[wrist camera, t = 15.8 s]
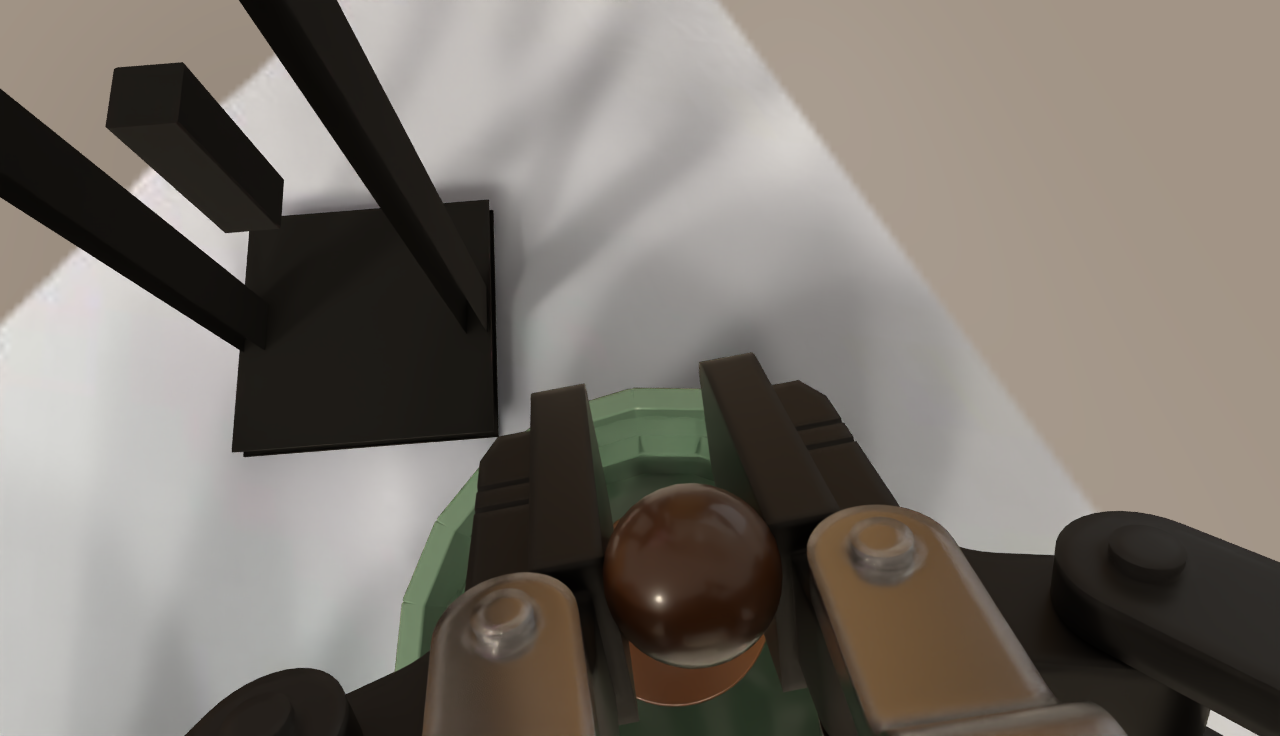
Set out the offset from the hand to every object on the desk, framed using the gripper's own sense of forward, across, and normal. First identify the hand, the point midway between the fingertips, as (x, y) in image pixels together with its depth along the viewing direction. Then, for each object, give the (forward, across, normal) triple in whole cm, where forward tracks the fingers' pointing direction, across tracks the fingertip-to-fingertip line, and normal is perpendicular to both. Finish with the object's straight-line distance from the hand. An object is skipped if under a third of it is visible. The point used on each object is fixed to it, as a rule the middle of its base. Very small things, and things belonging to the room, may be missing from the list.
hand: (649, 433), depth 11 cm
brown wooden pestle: (+6, 0, +9) cm, 11 cm away
